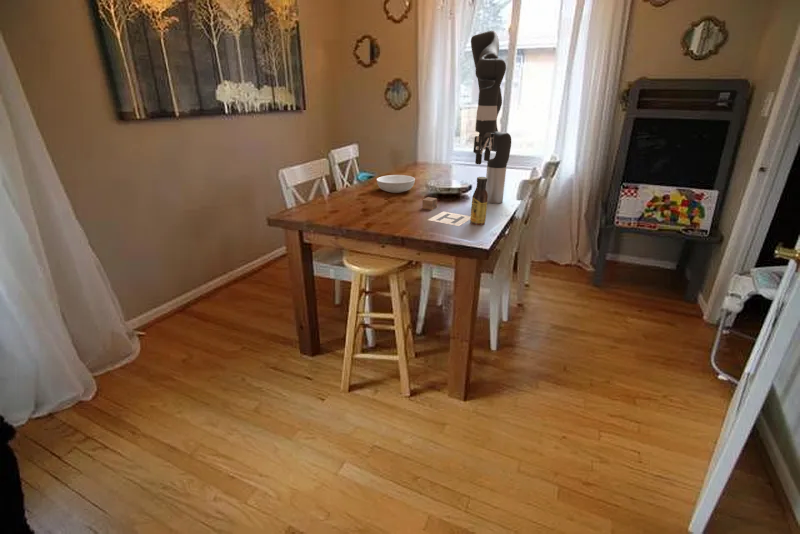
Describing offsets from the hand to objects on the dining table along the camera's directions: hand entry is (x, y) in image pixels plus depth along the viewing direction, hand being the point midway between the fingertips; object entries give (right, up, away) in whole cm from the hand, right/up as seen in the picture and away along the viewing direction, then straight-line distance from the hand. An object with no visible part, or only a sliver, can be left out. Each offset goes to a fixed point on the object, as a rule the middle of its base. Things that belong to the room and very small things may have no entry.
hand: (482, 162), depth 157 cm
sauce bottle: (0, -24, +11) cm, 26 cm away
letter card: (-10, -20, +17) cm, 28 cm away
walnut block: (-18, -14, +32) cm, 39 cm away
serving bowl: (-35, +1, +64) cm, 73 cm away
